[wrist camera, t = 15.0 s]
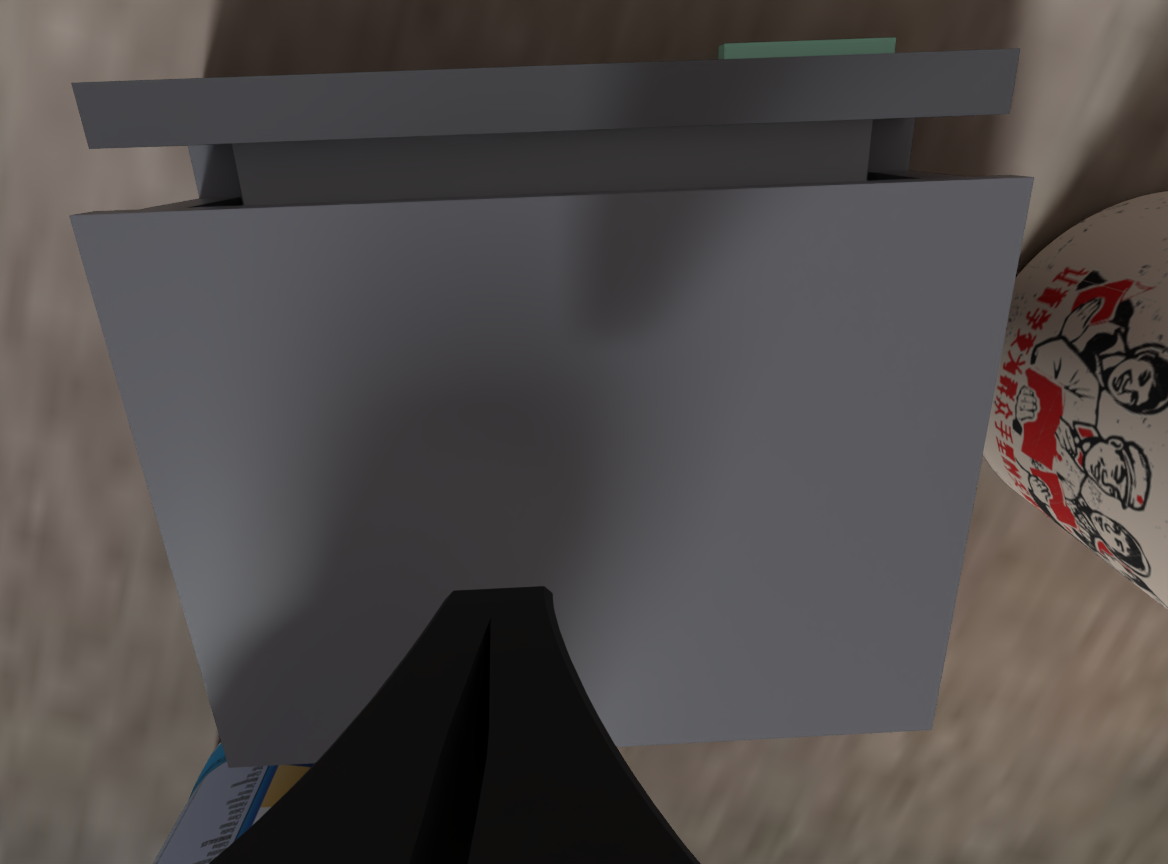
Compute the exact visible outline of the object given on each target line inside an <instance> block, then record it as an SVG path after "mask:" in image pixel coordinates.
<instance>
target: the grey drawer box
mask: <svg viewBox="0 0 1168 864" xmlns="http://www.w3.org/2000/svg"><path fill="white" fill-rule="evenodd" d="M914 126H915V118H902V119H876V120H873V122H872V132H871V141H870V151H869V161H868V170H867V180H866V181H847V182H822V183H797V184H772V185H746V186H721V187H696V188H671V189H645V190H620V191H595V192H570V193H545V194H519V195H494V196H469V197H444V198H418V199H393V200H368V201H343V202H317V203H292V204H267V205H244V202H243V197H242V192H241V187H240V182H239V177H238V172H237V167H236V162H235V157H234V152H233V147H232V144H218V145H192V146H188V148H189V153H190V157H191V162H192V166H193V171H194V175H195V180H196V184H197V189H198V193H199V199H194V200H188V201H183V202H177V203H172V204H166V205H161V206H155V207H150V208H144V209H139V210H115V211H93V212H87V213H81V214H75V215H69V216H70V220H71V223H72V227H73V230H74V234H75V237H76V241H77V244H78V248H79V251H80V255H81V258H82V262H83V265H84V268H85V272H86V275H87V279H88V282H89V286H90V289H91V293H92V296H93V300H94V303H95V307H96V310H97V313H98V317H99V320H100V324H101V327H102V331H103V334H104V338H105V341H106V345H107V348H108V352H109V355H110V359H111V362H112V365H113V369H114V372H115V376H116V379H117V383H118V386H119V390H120V393H121V397H122V400H123V404H124V407H125V410H126V414H127V417H128V421H129V424H130V428H131V431H132V435H133V438H134V442H135V445H136V449H137V452H138V456H139V459H140V462H141V466H142V469H143V473H144V476H145V480H146V483H147V487H148V490H149V494H150V497H151V501H152V504H153V508H154V511H155V514H156V518H157V521H158V525H159V528H160V532H161V535H162V539H163V542H164V546H165V549H166V553H167V556H168V559H169V563H170V566H171V570H172V573H173V577H174V580H175V584H176V587H177V591H178V594H179V598H180V601H181V605H182V608H183V611H184V615H185V618H186V622H187V625H188V629H189V632H190V636H191V639H192V643H193V646H194V650H195V653H196V657H197V660H198V663H199V667H200V670H201V674H202V677H203V681H204V684H205V688H206V691H207V695H208V698H209V702H210V705H211V708H212V712H213V715H214V719H215V722H216V726H217V729H218V733H219V736H220V740H221V743H222V747H223V750H224V754H225V757H226V760H227V764H228V767H229V768H236V767H255V766H273V765H292V764H310V763H316V761H317V760H318V759H319V758H320V757H321V756H322V755H323V754H324V753H325V752H326V751H327V750H328V749H329V747H330V746H331V745H332V744H333V743H334V742H335V740H336V739H337V738H338V737H339V736H340V735H341V734H342V732H343V731H344V730H345V729H346V728H347V727H348V726H349V724H350V723H351V722H352V721H353V720H354V719H355V718H356V716H357V715H358V714H359V713H360V712H361V711H362V710H363V708H364V707H365V706H366V705H367V704H368V703H369V701H370V700H371V699H372V698H373V696H374V695H375V694H376V693H377V691H378V690H379V689H380V688H381V686H382V685H383V684H384V683H385V681H386V680H387V679H388V677H389V676H390V675H391V674H392V672H393V671H394V670H395V668H396V667H397V666H398V665H399V663H400V662H401V661H402V659H403V658H404V657H405V656H406V654H407V653H408V651H409V650H410V649H411V647H412V646H413V645H414V643H415V642H416V640H417V639H418V638H419V636H420V635H421V634H422V632H423V631H424V629H425V628H426V627H427V625H428V624H429V622H430V621H431V619H432V618H433V616H434V615H435V613H436V612H437V611H438V609H439V608H440V606H441V605H442V603H443V602H444V600H445V599H446V598H447V597H448V596H449V594H450V593H451V592H452V591H454V590H474V589H494V588H514V587H534V586H545V587H546V588H547V589H548V590H550V591H551V592H552V593H553V604H554V610H555V615H556V619H557V622H558V625H559V629H560V632H561V634H562V637H563V640H564V643H565V646H566V648H567V651H568V653H569V656H570V658H571V661H572V663H573V665H574V667H575V669H576V671H577V674H578V676H579V678H580V680H581V682H582V684H583V686H584V688H585V691H586V693H587V695H588V697H589V699H590V701H591V703H592V704H593V706H594V708H595V710H596V712H597V714H598V716H599V718H600V719H601V721H602V723H603V725H604V726H605V728H606V730H607V732H608V733H609V735H610V737H611V739H612V740H613V742H614V744H615V745H616V747H624V746H642V745H660V744H679V743H697V742H716V741H734V740H753V739H771V738H790V737H808V736H826V735H845V734H863V733H882V732H900V731H919V730H932V726H933V721H934V715H935V710H936V705H937V699H938V694H939V688H940V683H941V678H942V672H943V667H944V661H945V656H946V651H947V645H948V640H949V634H950V629H951V624H952V618H953V613H954V607H955V602H956V597H957V591H958V586H959V580H960V575H961V570H962V564H963V559H964V553H965V548H966V543H967V537H968V532H969V526H970V521H971V516H972V510H973V505H974V499H975V494H976V489H977V483H978V478H979V472H980V467H981V462H982V456H983V451H984V445H985V440H986V435H987V429H988V424H989V418H990V413H991V408H992V402H993V397H994V391H995V386H996V381H997V375H998V370H999V364H1000V359H1001V354H1002V348H1003V343H1004V337H1005V332H1006V327H1007V321H1008V316H1009V310H1010V305H1011V300H1012V294H1013V289H1014V283H1015V278H1016V273H1017V267H1018V262H1019V256H1020V251H1021V245H1022V240H1023V235H1024V229H1025V224H1026V218H1027V213H1028V208H1029V202H1030V197H1031V191H1032V186H1033V181H1034V177H1026V176H1015V175H999V176H974V177H966V176H957V175H947V174H937V173H928V172H918V171H909V166H910V158H911V150H912V142H913V134H914Z"/></svg>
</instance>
